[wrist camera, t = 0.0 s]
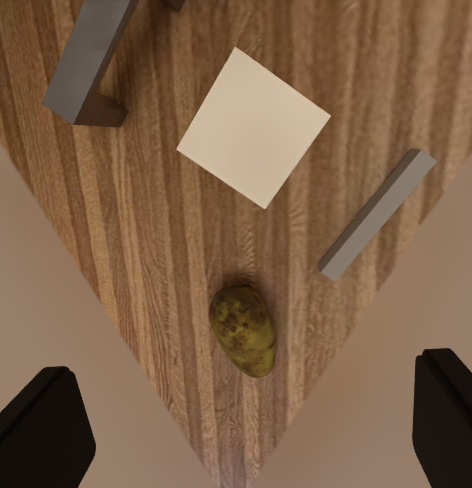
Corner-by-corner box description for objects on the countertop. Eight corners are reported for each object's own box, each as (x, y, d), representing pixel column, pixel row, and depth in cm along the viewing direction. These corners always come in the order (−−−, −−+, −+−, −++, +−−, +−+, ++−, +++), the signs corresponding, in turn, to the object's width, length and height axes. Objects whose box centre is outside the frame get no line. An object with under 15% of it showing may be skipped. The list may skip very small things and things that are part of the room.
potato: (210, 356, 46) (199, 399, 38) (216, 267, 42) (205, 296, 34) (272, 363, 45) (273, 409, 38) (283, 274, 41) (287, 305, 34)
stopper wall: (411, 148, 36) (421, 149, 34) (426, 159, 36) (437, 161, 34) (317, 264, 41) (320, 272, 38) (330, 273, 41) (334, 282, 38)
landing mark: (235, 47, 34) (235, 46, 34) (330, 116, 36) (331, 115, 35) (176, 149, 38) (176, 149, 38) (265, 209, 39) (264, 209, 39)
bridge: (96, 111, 38) (41, 103, 28) (162, -27, 33) (122, -90, 24) (120, 127, 38) (73, 124, 29) (188, -8, 33) (158, -63, 24)
